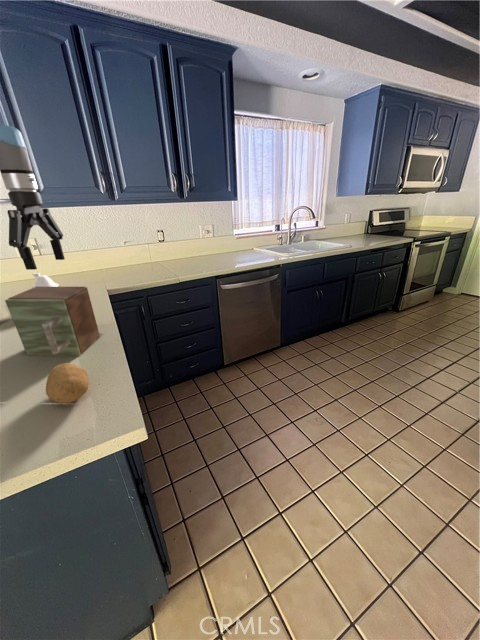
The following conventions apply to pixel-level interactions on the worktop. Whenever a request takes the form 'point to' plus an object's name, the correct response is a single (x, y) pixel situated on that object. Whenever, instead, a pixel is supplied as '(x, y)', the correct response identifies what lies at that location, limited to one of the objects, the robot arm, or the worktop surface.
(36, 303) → the cupboard door
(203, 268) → the worktop surface
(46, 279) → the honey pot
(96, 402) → the worktop surface
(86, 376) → the potato
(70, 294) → the cupboard
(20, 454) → the worktop surface
